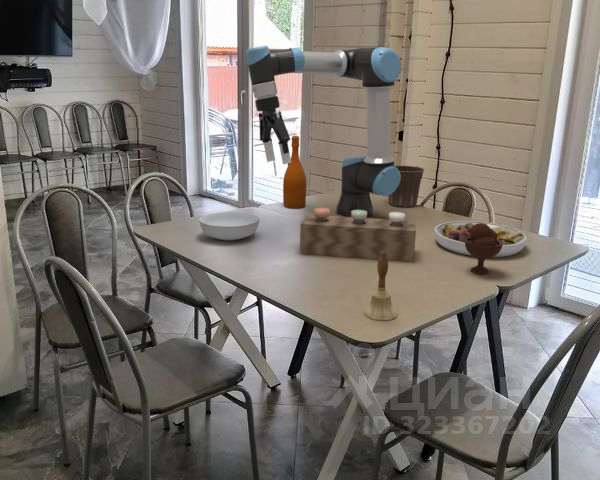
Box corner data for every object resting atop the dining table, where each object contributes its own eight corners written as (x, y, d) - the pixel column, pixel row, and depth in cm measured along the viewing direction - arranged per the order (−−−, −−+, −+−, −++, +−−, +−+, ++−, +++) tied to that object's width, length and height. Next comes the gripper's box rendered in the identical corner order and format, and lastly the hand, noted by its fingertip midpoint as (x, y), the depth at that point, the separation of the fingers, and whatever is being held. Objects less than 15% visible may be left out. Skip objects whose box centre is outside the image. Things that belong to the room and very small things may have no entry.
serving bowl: (252, 227, 213) (251, 209, 211) (266, 243, 194) (266, 223, 192) (196, 231, 207) (195, 212, 205) (204, 248, 188) (204, 228, 186)
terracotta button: (312, 228, 185) (313, 210, 183) (315, 224, 189) (315, 207, 188) (328, 229, 184) (328, 211, 182) (330, 225, 189) (330, 208, 187)
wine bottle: (306, 204, 249) (308, 134, 240) (304, 209, 240) (306, 137, 231) (284, 203, 250) (285, 134, 241) (281, 208, 241) (282, 136, 232)
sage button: (350, 231, 183) (350, 213, 181) (351, 227, 187) (352, 209, 186) (365, 232, 182) (366, 214, 180) (366, 228, 187) (367, 210, 185)
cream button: (387, 233, 181) (389, 215, 179) (388, 229, 186) (389, 211, 184) (403, 234, 180) (405, 216, 178) (403, 230, 185) (405, 212, 183)
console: (300, 253, 184) (300, 223, 181) (305, 242, 195) (306, 214, 192) (413, 261, 178) (415, 231, 176) (412, 250, 190) (415, 221, 187)
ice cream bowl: (494, 280, 164) (500, 230, 160) (456, 272, 170) (461, 224, 165) (503, 270, 173) (509, 222, 168) (466, 263, 178) (471, 216, 174)
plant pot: (401, 198, 263) (404, 163, 258) (429, 205, 251) (432, 169, 246) (376, 203, 253) (378, 167, 248) (404, 210, 241) (407, 172, 236)
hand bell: (359, 317, 139) (363, 255, 134) (368, 304, 146) (371, 245, 141) (393, 323, 136) (398, 260, 131) (400, 310, 143) (405, 249, 138)
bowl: (452, 229, 216) (454, 209, 214) (534, 244, 200) (537, 222, 197) (419, 248, 193) (421, 226, 190) (509, 267, 176) (513, 243, 174)
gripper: (242, 100, 193) (255, 162, 199) (269, 97, 170) (283, 167, 176) (262, 96, 195) (274, 157, 201) (292, 93, 173) (305, 161, 179)
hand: (278, 162), depth 189 cm, fingers open, 13 cm apart
